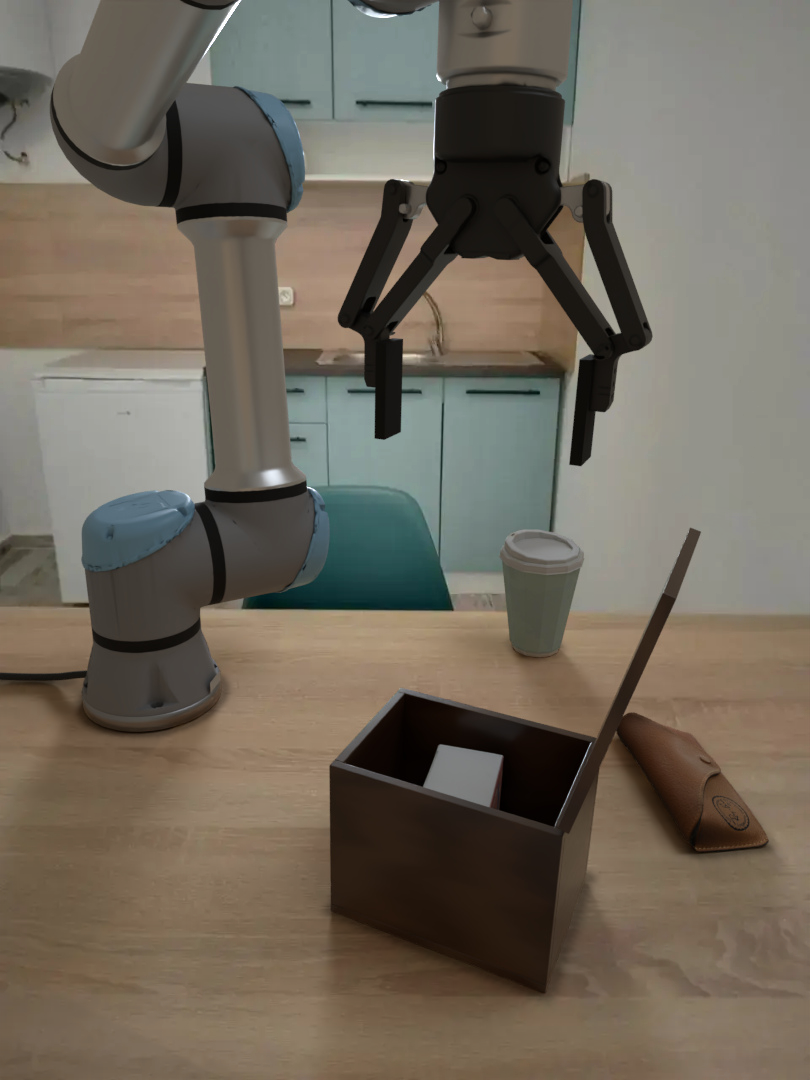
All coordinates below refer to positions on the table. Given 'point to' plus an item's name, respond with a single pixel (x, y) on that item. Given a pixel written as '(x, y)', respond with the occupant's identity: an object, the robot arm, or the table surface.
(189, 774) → the table surface
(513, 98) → the robot arm
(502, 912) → the chest
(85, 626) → the table surface
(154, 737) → the table surface
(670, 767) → the sunglasses case
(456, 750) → the small box
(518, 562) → the disposable coffee cup
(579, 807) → the lid
